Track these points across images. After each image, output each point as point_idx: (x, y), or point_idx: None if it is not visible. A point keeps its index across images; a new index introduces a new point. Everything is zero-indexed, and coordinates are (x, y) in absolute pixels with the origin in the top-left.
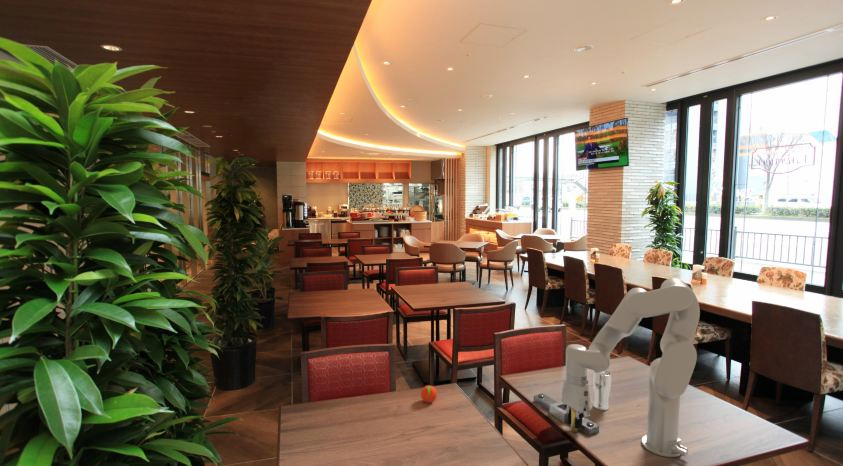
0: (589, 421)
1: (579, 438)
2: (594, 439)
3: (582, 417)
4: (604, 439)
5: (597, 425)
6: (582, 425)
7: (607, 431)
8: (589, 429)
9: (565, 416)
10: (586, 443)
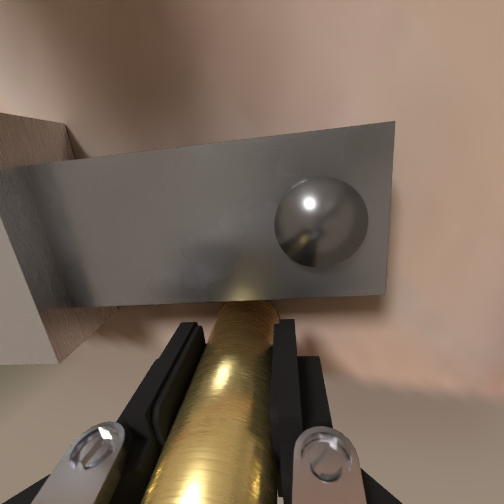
0: (248, 165)
1: (353, 364)
2: (433, 274)
3: (373, 498)
4: (495, 186)
5: (375, 139)
6: (277, 295)
7: (411, 13)
8: (378, 291)
9: (79, 327)
10: (433, 368)
